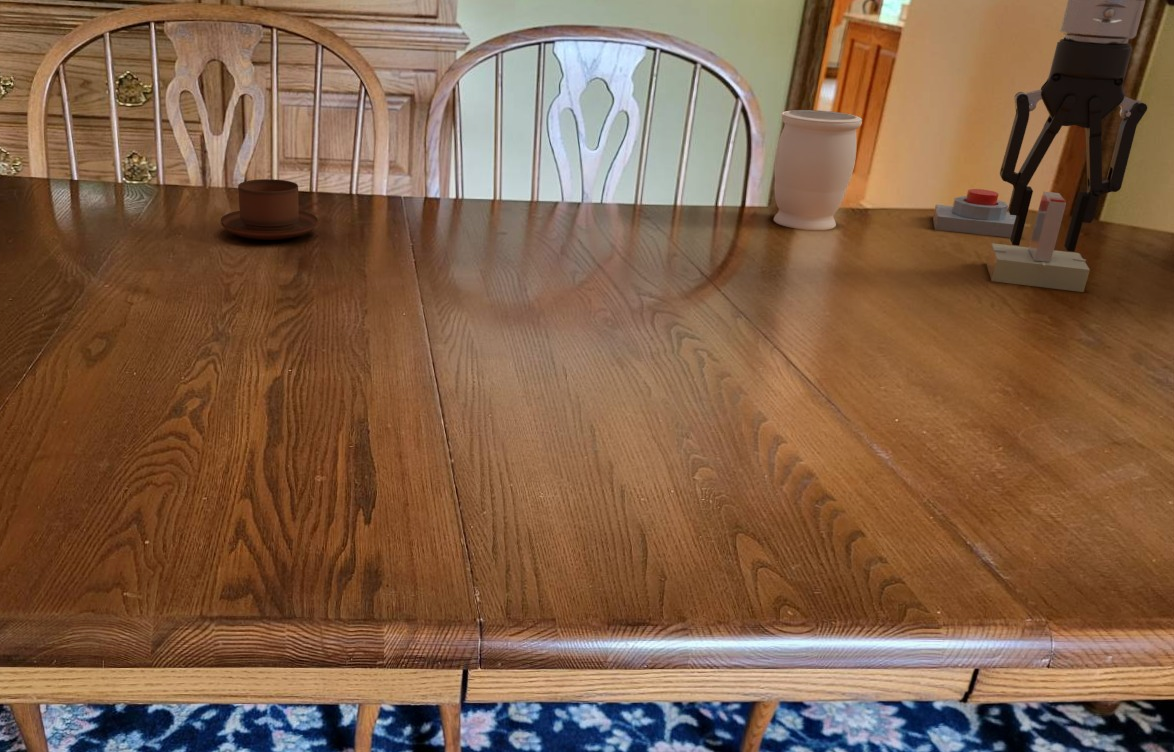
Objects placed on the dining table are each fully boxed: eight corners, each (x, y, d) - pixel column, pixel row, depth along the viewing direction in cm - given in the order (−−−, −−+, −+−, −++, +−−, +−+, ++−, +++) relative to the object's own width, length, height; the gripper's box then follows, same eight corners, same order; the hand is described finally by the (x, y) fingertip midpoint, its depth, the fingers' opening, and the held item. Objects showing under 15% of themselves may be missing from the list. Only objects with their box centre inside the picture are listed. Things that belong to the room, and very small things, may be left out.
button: (994, 203, 156) (997, 190, 155) (996, 208, 152) (999, 196, 152) (964, 200, 157) (967, 187, 156) (966, 205, 154) (968, 193, 153)
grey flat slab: (1028, 248, 135) (1043, 189, 132) (1044, 250, 134) (1060, 191, 131) (1033, 260, 130) (1050, 199, 127) (1050, 262, 129) (1067, 200, 126)
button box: (1013, 228, 158) (1020, 200, 157) (1019, 240, 151) (1026, 211, 150) (932, 219, 161) (938, 192, 160) (934, 231, 154) (940, 203, 153)
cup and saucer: (205, 229, 140) (202, 180, 137) (289, 219, 146) (288, 172, 144) (248, 251, 131) (245, 199, 128) (335, 239, 138) (335, 190, 135)
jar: (787, 234, 149) (805, 120, 143) (752, 216, 158) (768, 108, 152) (857, 233, 152) (878, 121, 145) (819, 215, 161) (837, 109, 154)
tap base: (1072, 274, 136) (1079, 249, 135) (1085, 297, 128) (1093, 270, 126) (984, 264, 139) (990, 239, 138) (990, 285, 130) (997, 259, 129)
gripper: (1010, 36, 121) (961, 243, 131) (1197, 47, 116) (1132, 262, 126) (1003, 31, 127) (958, 229, 137) (1181, 42, 122) (1120, 247, 132)
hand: (1041, 245), depth 132 cm, fingers open, 5 cm apart
